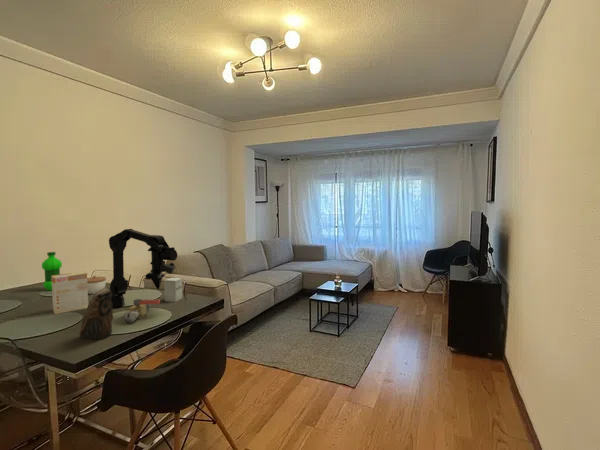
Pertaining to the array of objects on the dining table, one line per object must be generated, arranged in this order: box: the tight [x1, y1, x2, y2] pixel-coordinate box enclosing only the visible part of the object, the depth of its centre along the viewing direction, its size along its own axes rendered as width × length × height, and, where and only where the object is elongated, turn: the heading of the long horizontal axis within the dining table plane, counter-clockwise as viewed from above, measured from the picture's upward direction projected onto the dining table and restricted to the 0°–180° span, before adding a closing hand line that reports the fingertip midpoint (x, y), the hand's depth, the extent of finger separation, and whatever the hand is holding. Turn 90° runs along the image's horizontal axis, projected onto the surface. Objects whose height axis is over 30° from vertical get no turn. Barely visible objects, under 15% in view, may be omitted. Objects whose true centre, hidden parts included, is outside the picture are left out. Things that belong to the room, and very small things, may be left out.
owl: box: [79, 285, 114, 341], centre depth 139 cm, size 13×13×20 cm
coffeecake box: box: [51, 271, 89, 315], centre depth 173 cm, size 15×7×20 cm, turn 135°
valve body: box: [122, 298, 152, 325], centre depth 164 cm, size 6×21×6 cm, turn 6°
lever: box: [133, 298, 161, 306], centre depth 164 cm, size 12×4×2 cm, turn 96°
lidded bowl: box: [87, 275, 107, 295], centre depth 207 cm, size 13×13×11 cm
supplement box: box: [163, 277, 183, 303], centre depth 191 cm, size 7×7×13 cm
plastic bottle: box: [41, 251, 63, 292], centre depth 214 cm, size 10×10×25 cm
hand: (158, 288), depth 171 cm, fingers closed
